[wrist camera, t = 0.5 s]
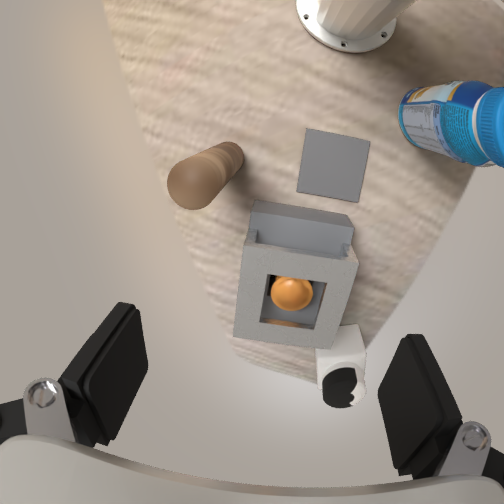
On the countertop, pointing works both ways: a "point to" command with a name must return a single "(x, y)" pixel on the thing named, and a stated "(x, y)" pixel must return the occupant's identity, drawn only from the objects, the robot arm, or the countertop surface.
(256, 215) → the box
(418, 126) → the beverage bottle
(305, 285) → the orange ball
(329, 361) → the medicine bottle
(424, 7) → the countertop surface
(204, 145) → the countertop surface
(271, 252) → the frame
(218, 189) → the brown rod
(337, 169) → the pad
